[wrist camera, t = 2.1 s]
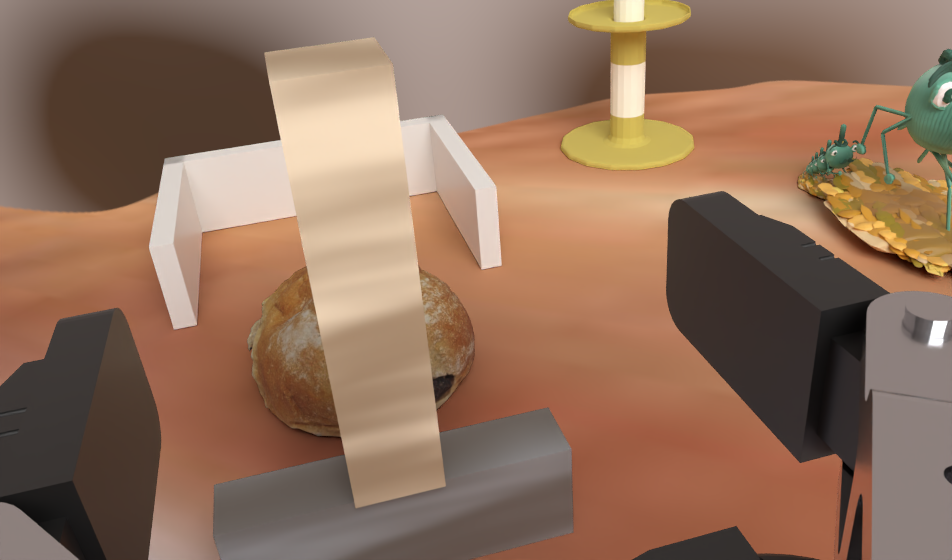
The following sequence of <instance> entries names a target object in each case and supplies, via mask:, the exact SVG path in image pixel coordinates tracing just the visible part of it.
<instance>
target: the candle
mask: <svg viewBox="0 0 952 560" xmlns="http://www.w3.org/2000/svg"><path fill="white" fill-rule="evenodd" d="M690 16H691V11H690V7H689V6H687V5H685V4H683V3H680V2H676V1H670V0H608V1H600V2H595V3H591V4H587V5H582V6H579V7H577V8H575V9H573V10H571V11H570V13H569V16H568V20H569V22H570V23H571V24H573V25H574V26H576V27H578V28H582V29H586V30H591V31H597V32H611V100H610V120H605V121H598V122H593V123H590V124H587V125H584V126H581V127H578V128H575V129H573V130H572V131H571V132H569V133H568V134H567V135H565V136H564V137H563V140H562V144H561V151H562V152H563V153H564V154H565V155H566V156H567V157H568V158H569V159H571V160H573V161H575V162H578V163H580V164H583V165H585V166H590V167H596V168H602V169H608V170H642V169H648V168H655V167H661V166H666V165H669V164H671V163H674V162H676V161H679V160H682V159H684V158H685V157H686V156H687V155H688V154H689V153H690V152H691V151H692V150H693V149H694V142H693V136H692V135H691V134H690V133H688V132H687V131H686V130H684V129H683V128H682V127H679V126H676V125H672V124H669V123H666V122H663V121H655V120H647V119H644V95H645V56H646V31H651V30H659V29H664V28H668V27H671V26H675V25H678V24H681V23H683V22H684V21H686V20H687V19H688V18H690Z"/></svg>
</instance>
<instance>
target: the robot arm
mask: <svg viewBox="0 0 952 560" xmlns="http://www.w3.org/2000/svg"><path fill="white" fill-rule="evenodd" d="M666 295H667V302H668V307H669V311H670V314H671V316H672V319H673V321H674V323H675V325H676V326H677V328H678V329H679V331H680V332H681V333H682V334H683V335H684V336H685V337H686V338H687V339H688V340H689V342H690V343H691V344H692V345H693V346H694V347H695V348H696V349H697V350H698V351H699V353H700V354H701V355H702V356H703V357H704V358H705V359H706V360H707V361H708V362H709V363H710V365H711V366H712V367H713V368H714V369H715V370H716V371H717V372H718V373H719V374H720V376H721V377H722V378H723V379H724V380H725V381H726V382H727V383H728V384H729V385H730V387H731V388H732V389H733V390H734V391H735V392H736V393H737V394H738V395H739V396H740V397H741V399H742V400H743V401H744V402H745V403H746V404H747V405H748V406H749V407H750V408H751V410H752V411H753V412H754V413H755V414H756V415H757V416H758V417H759V418H760V419H761V421H762V422H763V423H764V424H765V425H766V426H767V427H768V428H769V429H770V430H771V431H772V433H773V434H774V435H775V436H776V437H777V438H778V439H779V440H780V441H781V442H782V444H783V445H784V446H785V447H786V448H787V449H788V450H789V451H790V452H791V453H792V455H793V456H794V457H795V458H796V459H797V460H798V461H799V462H800V463H802V462H806V461H809V460H813V459H817V458H821V457H825V456H828V455H832V454H837V455H838V456H839V457H840V458H841V459H842V461H841V467H840V473H839V478H838V491H837V509H836V527H835V545H834V560H952V297H950V296H946V295H942V294H937V293H931V292H920V291H904V292H895V293H889V292H888V291H886V290H885V289H883V288H882V287H880V286H879V285H877V284H876V283H875V282H873V281H872V280H870V279H869V278H867V277H866V276H864V275H863V274H861V273H860V272H859V271H857V270H856V269H854V268H853V267H851V266H850V265H848V264H847V263H846V262H844V261H843V260H841V259H840V258H834V254H832V253H831V252H830V251H828V250H827V249H825V248H824V247H822V246H821V245H816V244H815V241H814V240H812V239H811V238H809V237H808V236H806V235H805V234H804V233H802V232H801V231H799V230H798V229H796V228H795V227H793V226H791V225H788V224H785V223H782V222H780V221H777V220H774V219H771V218H768V217H765V216H762V215H758V214H756V213H755V212H753V211H752V210H751V209H749V208H748V207H746V206H745V205H744V204H742V203H741V202H739V201H738V200H737V199H735V198H734V197H732V196H731V195H730V194H728V193H726V192H723V191H720V192H715V193H709V194H704V195H699V196H694V197H689V198H684V199H679V200H676V201H674V202H673V203H672V205H671V208H670V211H669V218H668V249H667V281H666ZM160 449H161V430H160V422H159V416H158V412H157V407H156V404H155V400H154V397H153V394H152V391H151V388H150V386H149V383H148V380H147V377H146V374H145V371H144V368H143V365H142V362H141V360H140V357H139V354H138V351H137V348H136V345H135V342H134V339H133V336H132V333H131V331H130V328H129V325H128V322H127V320H126V318H125V316H124V314H123V312H122V311H121V310H120V309H119V308H114V309H109V310H104V311H99V312H93V313H88V314H83V315H78V316H73V317H68V318H63V319H60V320H59V321H58V322H57V324H56V327H55V330H54V333H53V336H52V339H51V341H50V344H49V347H48V350H47V353H46V355H45V358H44V359H42V360H37V361H32V362H27V363H23V364H22V365H21V366H20V367H19V368H18V369H17V370H16V371H15V372H14V373H13V374H12V375H11V376H10V377H9V378H8V379H7V380H6V381H5V382H4V383H3V384H2V385H1V386H0V560H148V555H149V546H150V537H151V528H152V520H153V511H154V502H155V493H156V484H157V476H158V467H159V458H160ZM632 560H819V559H815V558H809V557H802V556H795V555H785V554H756V552H755V551H754V550H753V548H752V547H751V545H750V544H749V543H748V541H747V540H746V539H745V537H744V536H743V535H742V533H741V532H740V531H739V529H738V528H737V526H735V527H731V528H728V529H724V530H720V531H717V532H713V533H710V534H706V535H702V536H699V537H695V538H691V539H688V540H684V541H681V542H677V543H673V544H670V545H666V546H662V547H659V548H655V549H652V550H649V551H647V552H645V553H643V554H641V555H640V556H638V557H636V558H634V559H632Z"/></svg>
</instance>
